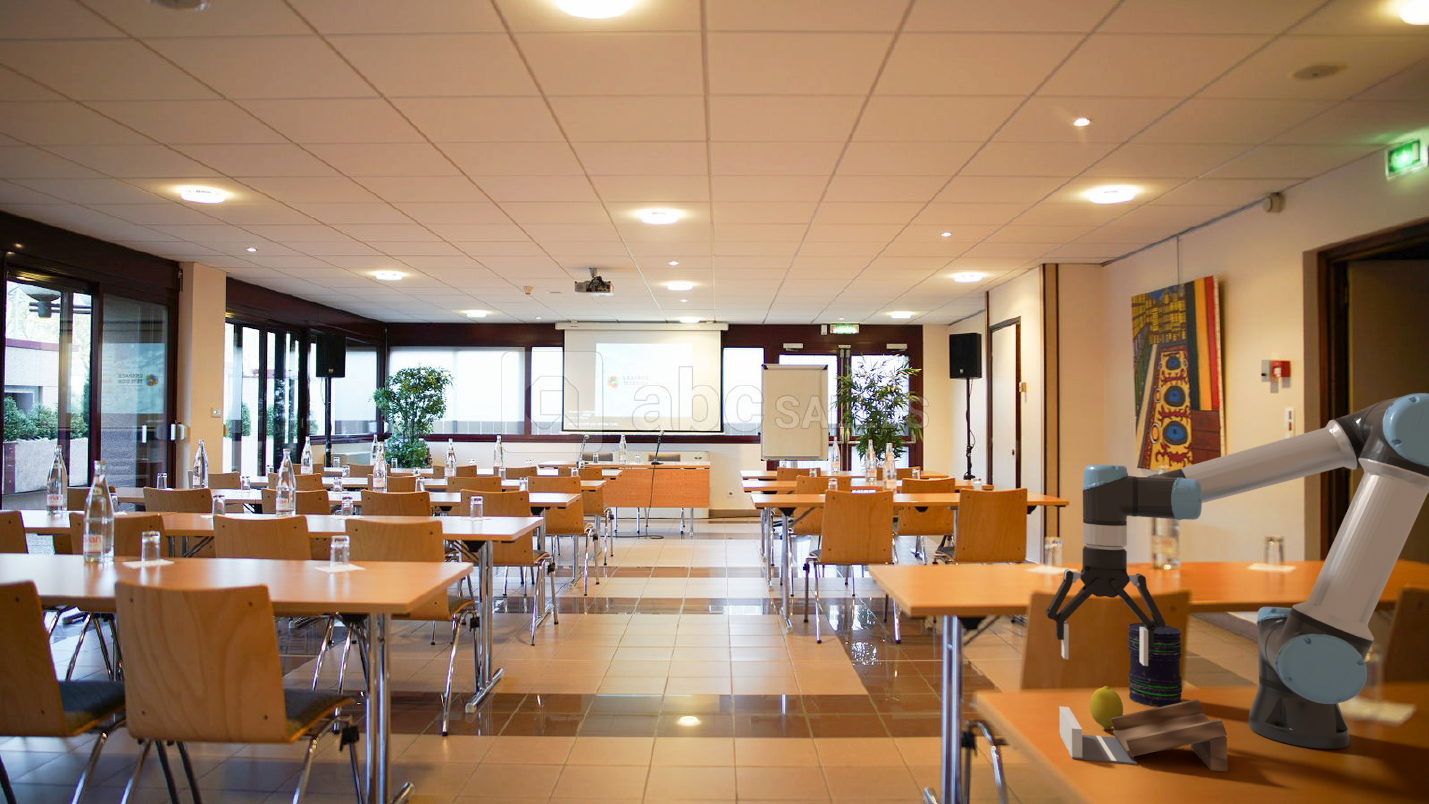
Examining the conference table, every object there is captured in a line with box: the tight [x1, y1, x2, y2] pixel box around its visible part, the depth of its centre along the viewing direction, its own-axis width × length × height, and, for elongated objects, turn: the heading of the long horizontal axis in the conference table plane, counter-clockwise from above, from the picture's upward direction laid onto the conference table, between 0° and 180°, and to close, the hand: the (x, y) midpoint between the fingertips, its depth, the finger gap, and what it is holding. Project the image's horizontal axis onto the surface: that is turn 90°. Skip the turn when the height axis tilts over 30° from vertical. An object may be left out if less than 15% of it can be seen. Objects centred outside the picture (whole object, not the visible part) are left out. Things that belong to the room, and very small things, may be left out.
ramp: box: [1110, 698, 1228, 772], centre depth 139 cm, size 15×12×8 cm
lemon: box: [1089, 685, 1124, 731], centre depth 152 cm, size 6×6×8 cm
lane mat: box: [1060, 734, 1138, 766], centre depth 142 cm, size 10×12×1 cm
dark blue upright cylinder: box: [1127, 622, 1183, 708], centre depth 170 cm, size 10×10×15 cm
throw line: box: [1095, 735, 1117, 764], centre depth 141 cm, size 1×12×1 cm, turn 166°
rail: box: [1059, 705, 1083, 761], centre depth 143 cm, size 2×12×5 cm, turn 167°
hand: (1103, 660), depth 152 cm, fingers open, 13 cm apart
